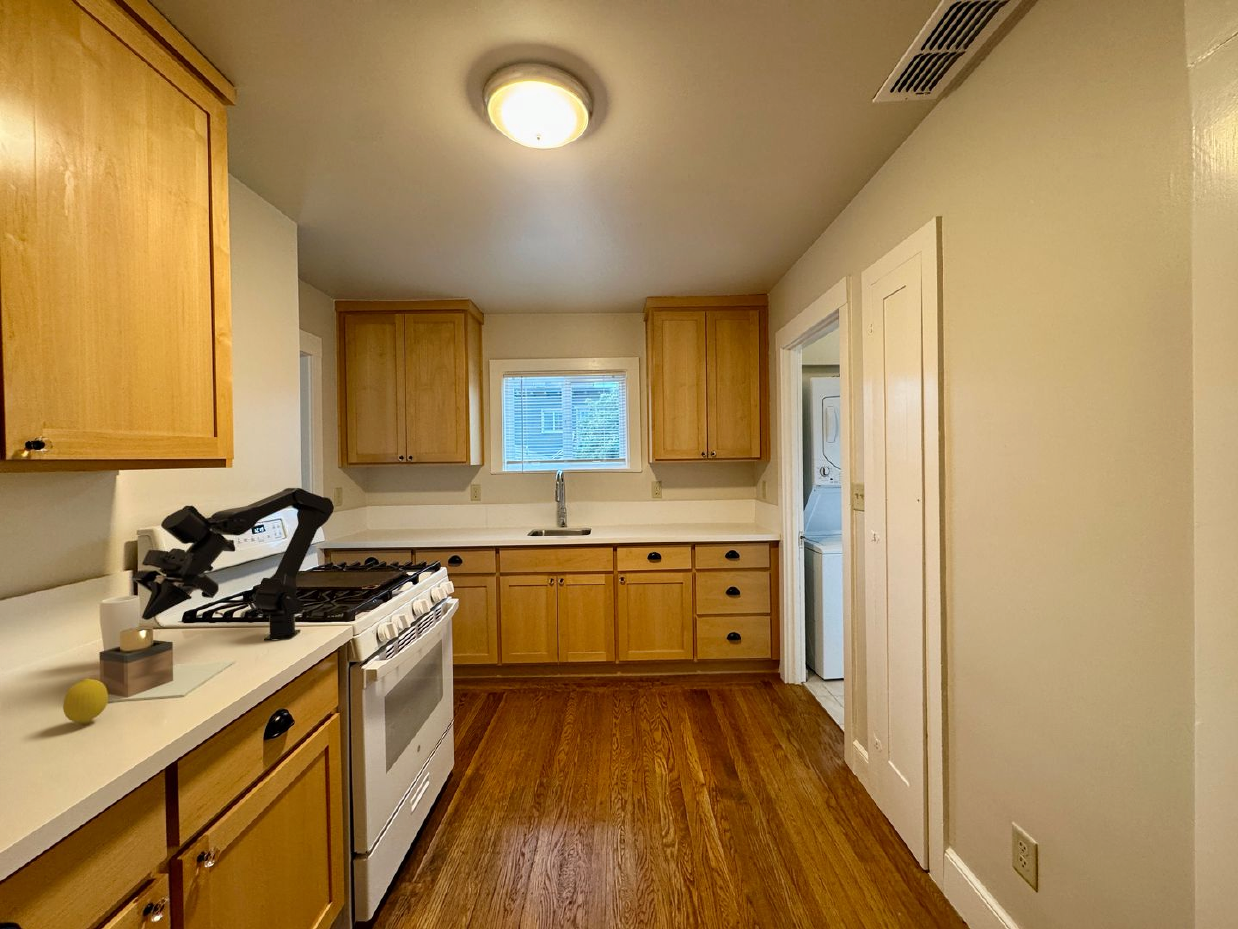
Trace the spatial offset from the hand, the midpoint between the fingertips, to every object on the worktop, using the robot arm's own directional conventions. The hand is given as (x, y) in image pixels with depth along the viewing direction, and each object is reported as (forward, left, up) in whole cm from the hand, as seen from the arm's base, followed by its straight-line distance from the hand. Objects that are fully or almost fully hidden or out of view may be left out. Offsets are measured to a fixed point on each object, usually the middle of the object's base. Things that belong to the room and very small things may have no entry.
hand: (144, 618), depth 108 cm
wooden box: (+1, -1, -14) cm, 14 cm away
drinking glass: (-15, -15, -14) cm, 25 cm away
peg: (+1, -1, -10) cm, 10 cm away
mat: (-2, +2, -14) cm, 14 cm away
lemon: (+16, +1, -14) cm, 22 cm away
